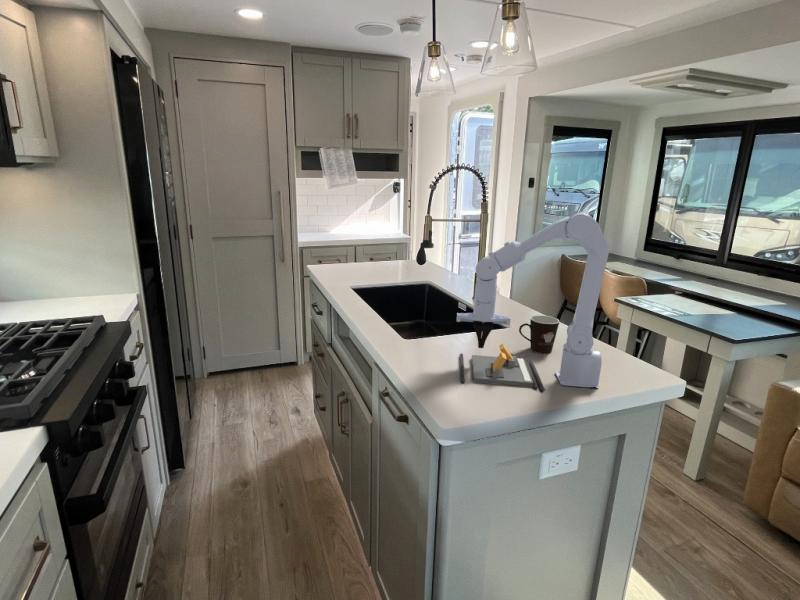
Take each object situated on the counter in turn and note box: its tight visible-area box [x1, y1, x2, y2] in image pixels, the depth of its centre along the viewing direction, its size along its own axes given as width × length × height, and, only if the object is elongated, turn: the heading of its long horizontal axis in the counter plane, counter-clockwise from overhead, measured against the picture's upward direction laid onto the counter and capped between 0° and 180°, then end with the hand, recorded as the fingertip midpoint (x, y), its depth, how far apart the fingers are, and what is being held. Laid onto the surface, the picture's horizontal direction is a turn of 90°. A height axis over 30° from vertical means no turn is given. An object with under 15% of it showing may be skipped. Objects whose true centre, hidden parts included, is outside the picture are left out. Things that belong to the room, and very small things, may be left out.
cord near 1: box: [528, 359, 546, 392], centre depth 124 cm, size 1×19×1 cm, turn 173°
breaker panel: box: [471, 352, 534, 388], centre depth 126 cm, size 15×16×3 cm
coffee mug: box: [518, 314, 560, 355], centre depth 143 cm, size 12×9×10 cm
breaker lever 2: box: [492, 351, 507, 370], centre depth 121 cm, size 1×4×5 cm, turn 174°
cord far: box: [459, 352, 466, 384], centre depth 127 cm, size 1×19×1 cm, turn 174°
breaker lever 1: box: [498, 343, 514, 361], centre depth 129 cm, size 1×4×5 cm
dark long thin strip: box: [525, 360, 539, 390], centre depth 124 cm, size 1×17×1 cm, turn 173°
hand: (480, 347), depth 129 cm, fingers closed
